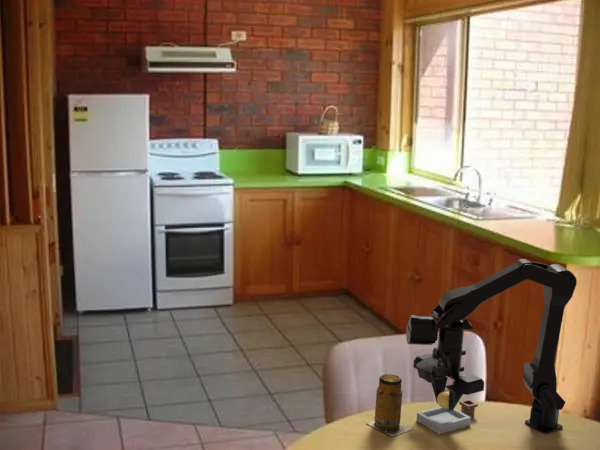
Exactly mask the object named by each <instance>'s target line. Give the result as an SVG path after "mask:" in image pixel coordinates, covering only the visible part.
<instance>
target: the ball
mask: <svg viewBox="0 0 600 450" xmlns="http://www.w3.org/2000/svg"><path fill="white" fill-rule="evenodd" d="M436 404H438V407H442V408H445V409H447V408H449V391H444V392H441V393H440V394H439V395H438V397H437V402H436Z"/></svg>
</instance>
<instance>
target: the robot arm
mask: <svg viewBox="0 0 600 450" xmlns="http://www.w3.org/2000/svg"><path fill="white" fill-rule="evenodd" d="M527 280H528V281H531V282H535V283H538V284H540V285H541V287H542V293H543V299H544V302H543V309H542V316H541V319H540V320H541V321H540V326H539V332H538V336H537V337H538V338H537V343H536V348H535V353H534V354H535V355H534V357H533V359H532V360H531V362H530V363H529V362H526V361H525V362H524V364H523V366H524V369H523V373H522V375H521V378H522V379H523V383H524V385H525V387H526V388H527V389H528V391H529V392H530V394H531V396H533V397H534V399H533V401H532V402H531V408H530V414H529V419H526V420H524V423H525V424H526V425H529V426H530V427H532V428H534V429H536V430H537V431H539V432H541V433H544V434H548V433H552V432H555V431H558V430H561V429H563V427H564V426H563V425H562V424H560V423H559V415H560V410H563V409H564V407H565V404H566V401H565V400H564V398H563V397H562V396H561V395H560V393H558V391H557V388H558V387H557V381H558V379H557V372H556V368H555V361H556V356H557V355H556V354H557V350H558V346H559V340H560V334H561V329H562V325H563V324H562V323H563V318H564V315H565V314H564V313H565V308H566V306H567V305H568V304H569V302H570V301H571V299H572V297H573V296H574V292H575V290H576V288H577V283H578V280H577V277H576V275H575V274H574V272H572V271H570V270H569V269H568V268H566V267H565V266H563V265H562V264H560V263H559V264H558V263H552V264H550V265H549V264H545V263H542V262H537V261H531V260H528V259H526V258H521V259H518V260H517V261H516V262H514V263H512V264H511V265H509V266H506V267H505V268H502V269H501V270H499V271H498V272H496V273H493V274H492V275H490V276H487V277H486V278H483V279H482V280H479V281H478V282H475V283H474V284H472V285H468V286H467V285H466V286H462V287H461V286H460V287H457V288H456V287H455V288H453V289H450V290H447V291H445V292H444V293H442V295H441V296H440V298H439V301H438V303H437V305H436V306H435V307H434V308H433V309H432V310H431V312H430V313H429V316H423V315H422V316H419V315H413V314H410V315H409V320H408V322H407V325H406V327H405V328H406V329H405V330H406V331H405V332H406V333H405V336H406V344H407V345H411V346H412V345H419V346H432V345H433V344H434V345H435V344H436V342H437V340H438V342H437V346H436V347H434V348H433V349H432V353H426V354H422V355H417V356H416V357H415V358H414V359H413V368H414V369H415V370H417V374H418V377H419V378H420V379H423V380H424V381H425V382H427V383H428V384H429V383H430V384H431V387H432V390H433V394H434V398H435V402H436V403H437V397H438V395H439V394H440V393H441V392H444V391H445V390H446V389H447V390H448V392H449V410H450V411H451V410H454V408H455V409H456V407H457V405H458V404H459V401H461V398H462V396H463V395H467V396H468V395H472V394H477V393H479V392H480V393H481V392H484V390H485V380H483V378H480V377H479V376H477V375H475V374H473V373H469V374H464V375H463V374H461V372H464V371H465V366H463V365H462V357H463V356H465V355H467V354H466V353H467V350H465V349H464V348H463V347H464V346H463V345H464V335H465V334H464V333H465V330H473V329H474V326H473V325H472V323H471V322H470V321H469V319H468V318H467V317H468V316H470V315H471V314H472V313H474V312H475V311H476V309H478V307H479V306H480V305H481V304H483V303H484V302H486V301H488V300H490V299H491V298H494V297H495V296H497V295H500V294H502V293H503V292H506V291H507V290H509V289H511V288H514V287H515V286H517V285H518V284H521V283H522V282H525V281H527ZM448 379H450V380H452V383H451V384H449V385H447V382H448Z"/></svg>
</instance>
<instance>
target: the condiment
mask: <svg viewBox="0 0 600 450" xmlns="http://www.w3.org/2000/svg"><path fill="white" fill-rule="evenodd" d="M402 383H403V380H402V378H401V377H400V376H399V375H396V374H393V373H387V374H382V375H380V376H379V379H378V387H376V395H375V409H374V410H375V411H374V419H373V420H371V421H368V422H366V424H367V425H369V426H370V427H372V428H374V429H376V430H378V431H381V432H382V433H383V434H386V435H388V436H390V437H396V436H398V435H401V434H405V433H406V432H409V431H411V430H413V428H412V427H411V426H409V425H406V424H404V423H402V422H401V417H402V416H401V413H402V403H403V389H402Z"/></svg>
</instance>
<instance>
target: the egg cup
mask: <svg viewBox="0 0 600 450" xmlns="http://www.w3.org/2000/svg"><path fill="white" fill-rule="evenodd" d="M458 404H459V405H460V406H461V409H460V410H461V411H460V412H462V413H464V414H466V415H467V416H469V417H471V419H472V418H473V417H475V410H476V408H478V406H479V404H478V403H477V402H475V401H473V400H472V399H470V398H467V399H464V400H459V402H458Z"/></svg>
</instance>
